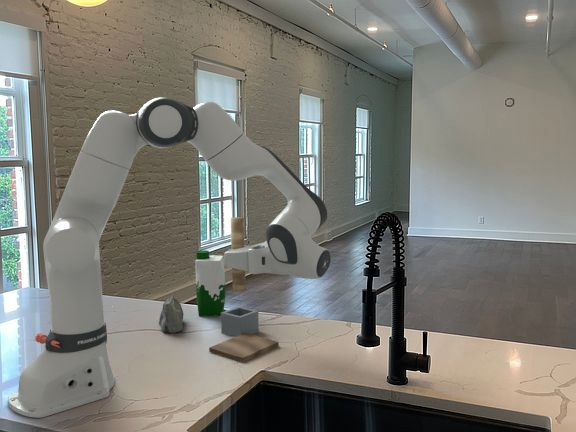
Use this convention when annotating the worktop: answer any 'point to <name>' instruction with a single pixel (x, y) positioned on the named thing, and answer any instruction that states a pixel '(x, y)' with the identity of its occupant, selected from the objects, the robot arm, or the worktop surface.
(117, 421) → the worktop surface
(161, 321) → the mineral rock
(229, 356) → the tray
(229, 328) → the open box
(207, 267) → the milk carton
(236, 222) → the dowel
